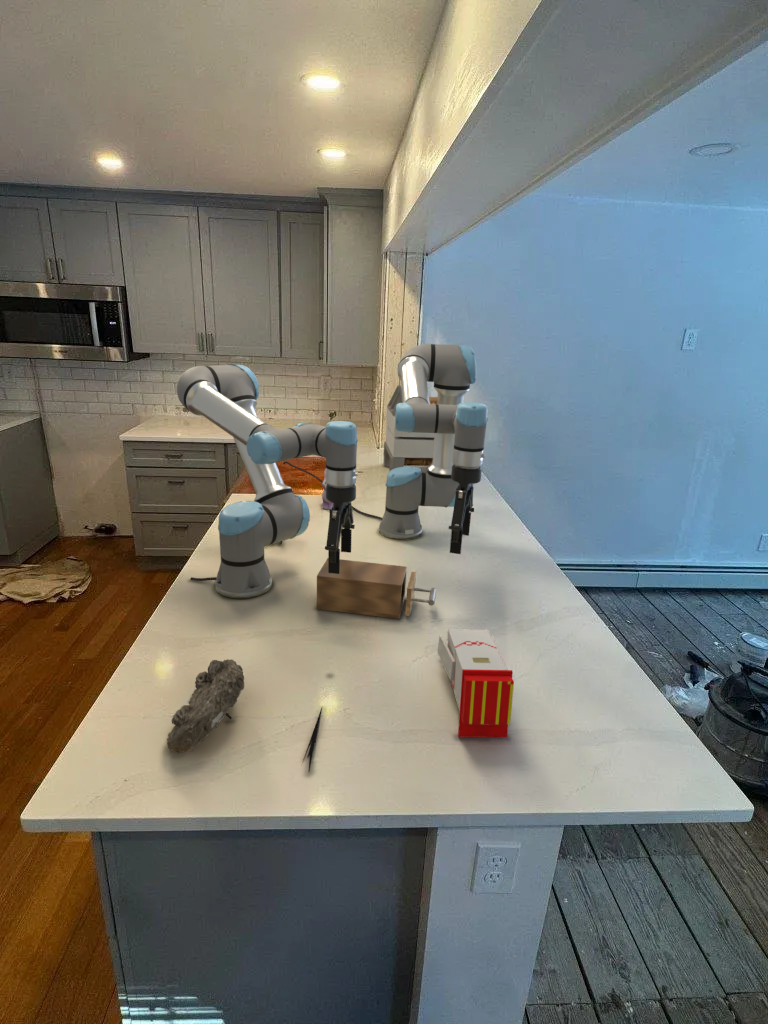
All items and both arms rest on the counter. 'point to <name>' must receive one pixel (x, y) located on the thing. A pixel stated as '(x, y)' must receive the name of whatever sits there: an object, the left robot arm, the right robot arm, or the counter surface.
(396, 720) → the counter surface
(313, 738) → the feather
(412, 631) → the counter surface
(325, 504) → the figurine
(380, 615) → the cabinet
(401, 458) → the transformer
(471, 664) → the toy
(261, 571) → the left robot arm
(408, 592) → the drawer
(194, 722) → the fossil
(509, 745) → the counter surface
